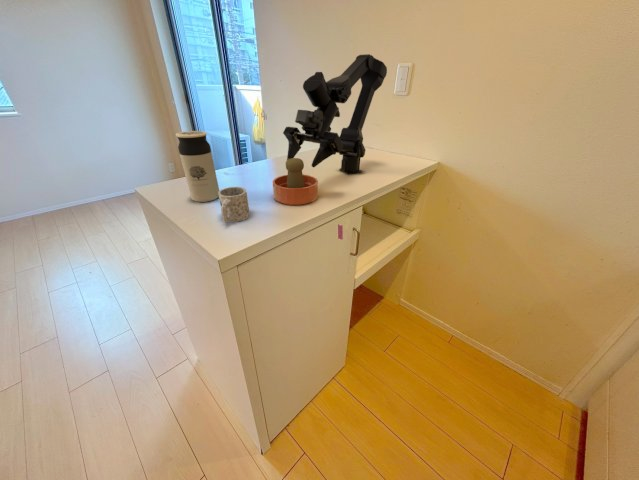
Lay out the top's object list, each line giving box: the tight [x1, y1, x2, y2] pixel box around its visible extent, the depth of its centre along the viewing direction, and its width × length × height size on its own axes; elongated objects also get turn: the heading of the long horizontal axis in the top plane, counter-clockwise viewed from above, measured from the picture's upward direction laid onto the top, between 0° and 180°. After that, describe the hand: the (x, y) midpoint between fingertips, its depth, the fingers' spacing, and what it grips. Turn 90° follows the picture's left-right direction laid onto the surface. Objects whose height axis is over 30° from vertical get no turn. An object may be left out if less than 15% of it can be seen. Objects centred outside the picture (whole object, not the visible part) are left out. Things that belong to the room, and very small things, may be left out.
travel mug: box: [175, 130, 220, 203], centre depth 72 cm, size 8×8×18 cm
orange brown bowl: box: [272, 174, 319, 206], centre depth 77 cm, size 13×13×5 cm
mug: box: [218, 186, 251, 224], centre depth 64 cm, size 10×7×7 cm, turn 174°
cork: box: [285, 157, 305, 188], centre depth 75 cm, size 6×6×11 cm
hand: (300, 163), depth 75 cm, fingers open, 9 cm apart
